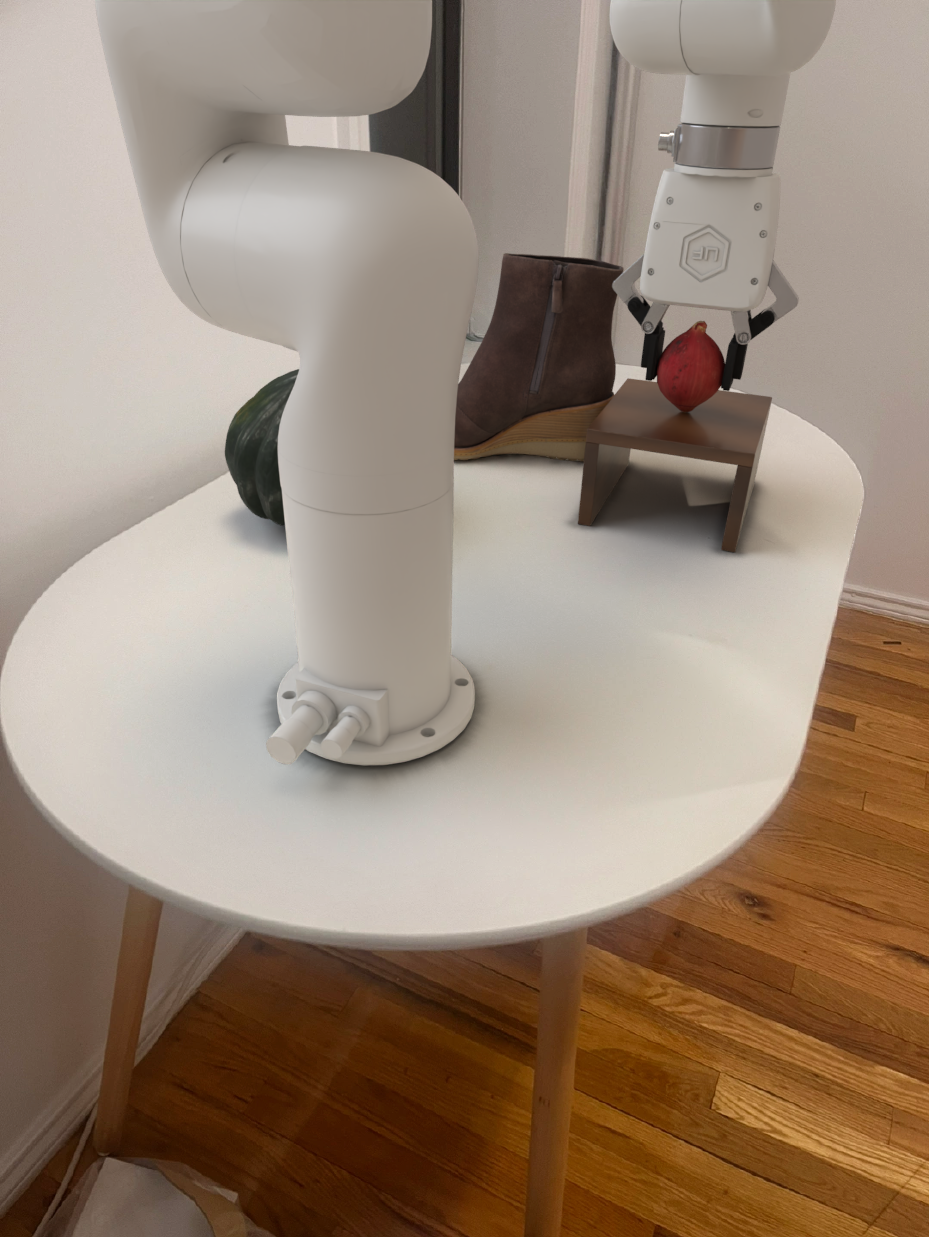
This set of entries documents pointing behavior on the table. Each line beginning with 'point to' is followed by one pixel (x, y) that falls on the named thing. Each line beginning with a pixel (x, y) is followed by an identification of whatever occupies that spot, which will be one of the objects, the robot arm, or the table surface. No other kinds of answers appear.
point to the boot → (540, 360)
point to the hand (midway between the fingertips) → (689, 379)
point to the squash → (259, 448)
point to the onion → (690, 368)
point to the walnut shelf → (674, 442)
